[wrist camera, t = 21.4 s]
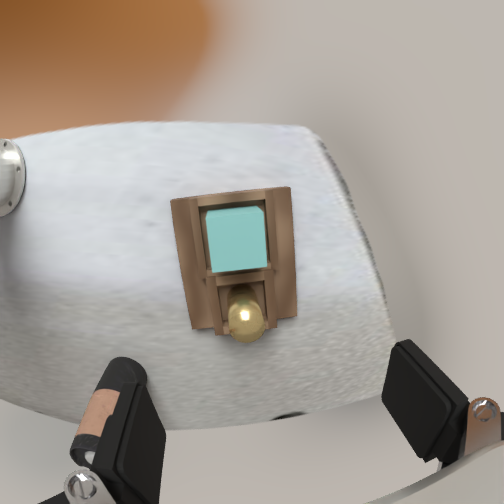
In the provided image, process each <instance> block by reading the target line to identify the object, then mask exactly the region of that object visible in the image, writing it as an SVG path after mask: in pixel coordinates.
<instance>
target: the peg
mask: <svg viewBox="0 0 504 504" xmlns="http://www.w3.org/2000/svg"><path fill="white" fill-rule="evenodd" d="M227 307H228V321H229V332H230V334H231V336H232V337H233V338H234V339H235V340H237V341H239V342H243V343H249V342H253V341H256V340H257V339H259V338H260V337H261V336H262V335H263V333H264V331H265V322H264V319H263V316H262V312H261V309H260V305H259V302H258V299H257V295H256V292H255V290H254V289H253V288H252V287H250V286H249V285H245V284H239V285H236V286H234V287H232V288H231V289H230V290H229V292H228V294H227Z"/></svg>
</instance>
